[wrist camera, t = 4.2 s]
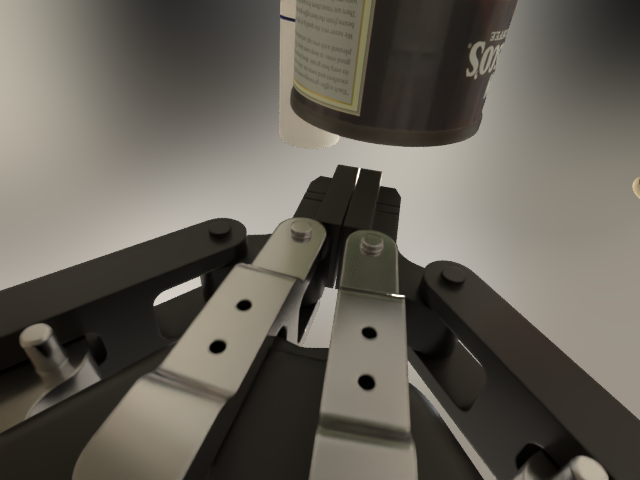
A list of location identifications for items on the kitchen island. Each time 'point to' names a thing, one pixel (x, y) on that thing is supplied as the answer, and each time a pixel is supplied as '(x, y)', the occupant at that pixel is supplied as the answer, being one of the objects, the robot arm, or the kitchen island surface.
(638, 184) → the travel mug
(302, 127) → the cylindrical container
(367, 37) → the coffee can
